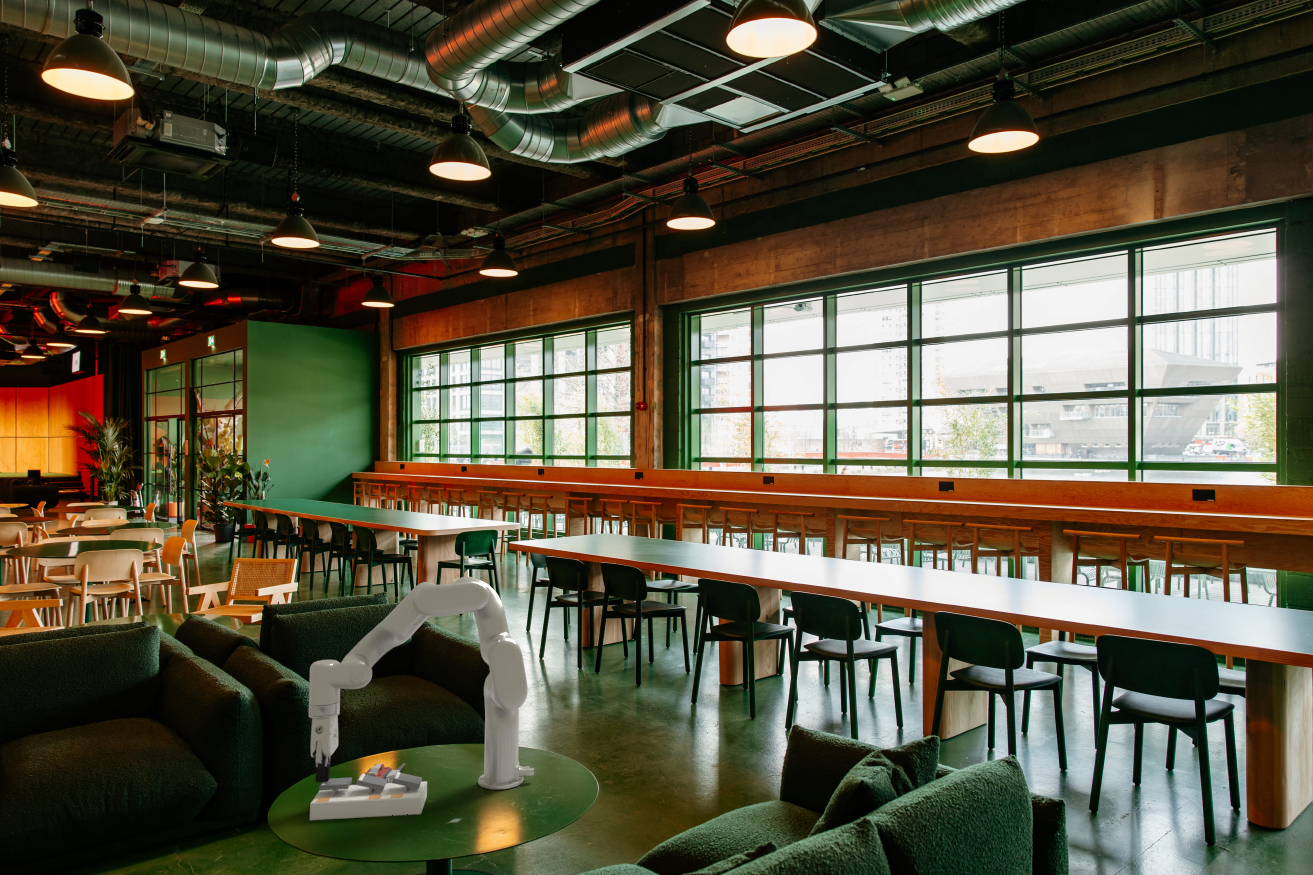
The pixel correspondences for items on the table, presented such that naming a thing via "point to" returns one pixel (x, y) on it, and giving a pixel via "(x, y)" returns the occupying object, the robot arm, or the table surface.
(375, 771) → the walkie-talkie
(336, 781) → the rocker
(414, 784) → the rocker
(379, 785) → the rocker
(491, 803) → the table surface
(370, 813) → the switch unit
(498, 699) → the robot arm
